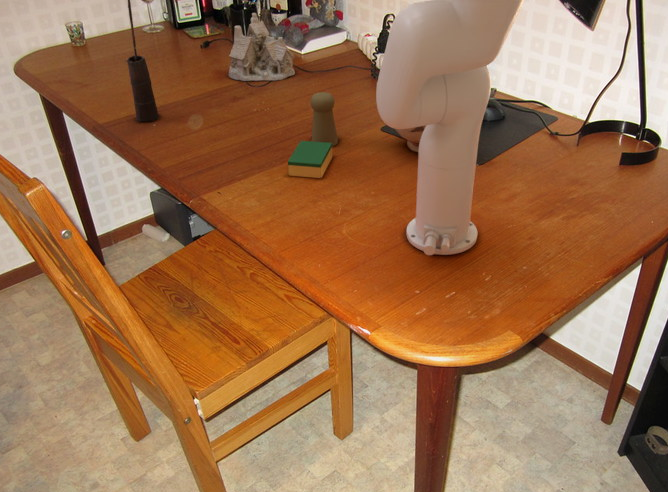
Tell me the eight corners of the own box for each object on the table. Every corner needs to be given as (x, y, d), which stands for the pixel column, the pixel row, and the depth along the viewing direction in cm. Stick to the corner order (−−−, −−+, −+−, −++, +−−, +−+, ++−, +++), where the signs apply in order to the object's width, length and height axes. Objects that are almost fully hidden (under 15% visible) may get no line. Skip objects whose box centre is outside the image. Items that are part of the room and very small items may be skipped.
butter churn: (135, 131, 151) (103, 4, 134) (118, 119, 157) (85, -5, 139) (171, 121, 156) (144, -4, 138) (154, 109, 161) (126, -12, 144)
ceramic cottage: (221, 72, 180) (216, 16, 171) (269, 61, 189) (267, 7, 179) (253, 91, 172) (250, 33, 162) (302, 78, 181) (302, 22, 171)
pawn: (306, 144, 145) (302, 96, 138) (320, 134, 149) (317, 87, 142) (329, 149, 143) (326, 101, 136) (343, 139, 147) (341, 91, 140)
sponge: (321, 178, 133) (320, 164, 131) (288, 175, 134) (287, 161, 132) (332, 156, 140) (332, 142, 138) (301, 154, 141) (300, 140, 139)
